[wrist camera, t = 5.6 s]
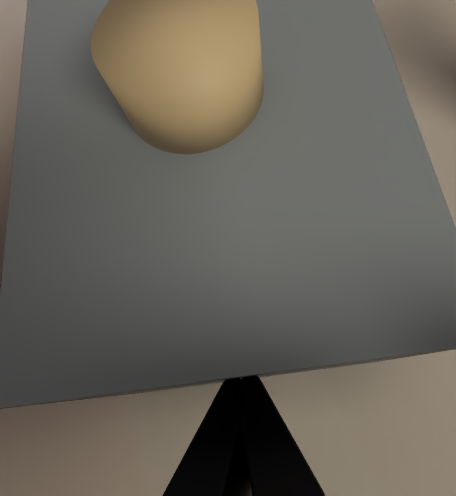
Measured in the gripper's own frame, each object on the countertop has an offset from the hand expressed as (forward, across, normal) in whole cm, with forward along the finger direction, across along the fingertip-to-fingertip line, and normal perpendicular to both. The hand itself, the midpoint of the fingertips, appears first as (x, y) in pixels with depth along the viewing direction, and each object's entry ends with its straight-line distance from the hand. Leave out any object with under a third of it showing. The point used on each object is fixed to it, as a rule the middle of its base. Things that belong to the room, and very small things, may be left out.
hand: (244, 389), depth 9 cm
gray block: (+10, 0, 0) cm, 10 cm away
